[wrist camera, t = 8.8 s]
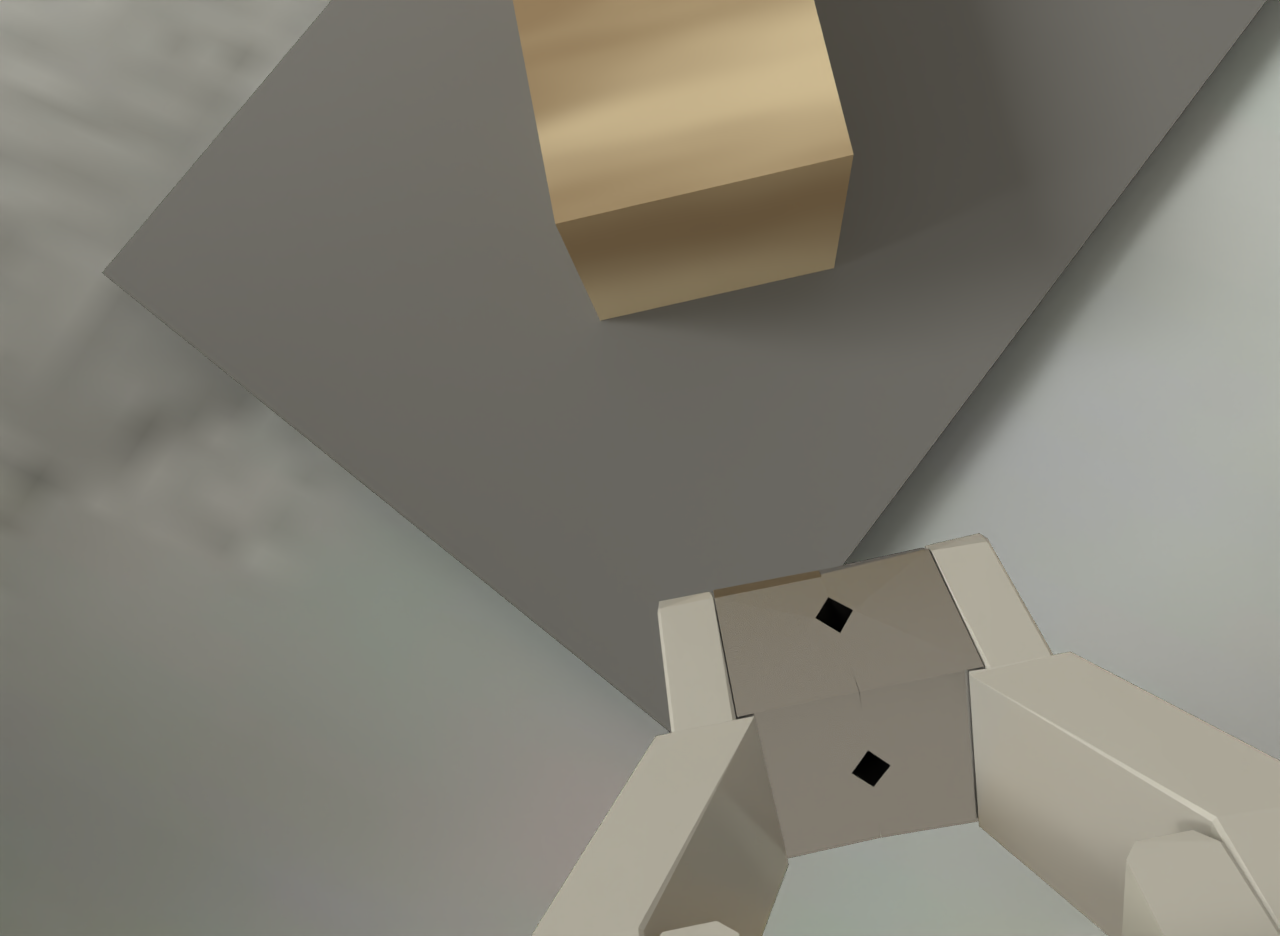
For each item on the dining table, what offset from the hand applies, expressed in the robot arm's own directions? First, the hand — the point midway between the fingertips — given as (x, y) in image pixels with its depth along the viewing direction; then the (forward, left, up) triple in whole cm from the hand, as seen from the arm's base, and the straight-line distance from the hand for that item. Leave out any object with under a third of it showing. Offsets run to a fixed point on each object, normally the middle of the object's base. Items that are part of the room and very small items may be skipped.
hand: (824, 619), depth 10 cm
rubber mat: (+8, +9, -12) cm, 17 cm away
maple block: (+5, +6, -9) cm, 11 cm away
